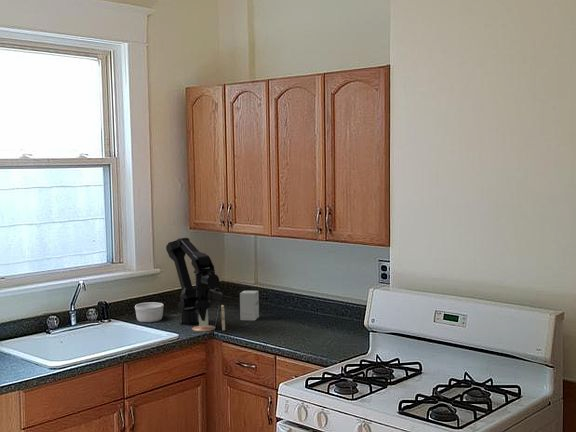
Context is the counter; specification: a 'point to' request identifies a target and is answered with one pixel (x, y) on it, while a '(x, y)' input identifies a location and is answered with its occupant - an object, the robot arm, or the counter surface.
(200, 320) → the sage block
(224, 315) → the divider board
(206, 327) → the disc
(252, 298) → the supplement box
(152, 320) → the ramekin
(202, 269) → the robot arm
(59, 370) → the counter surface
